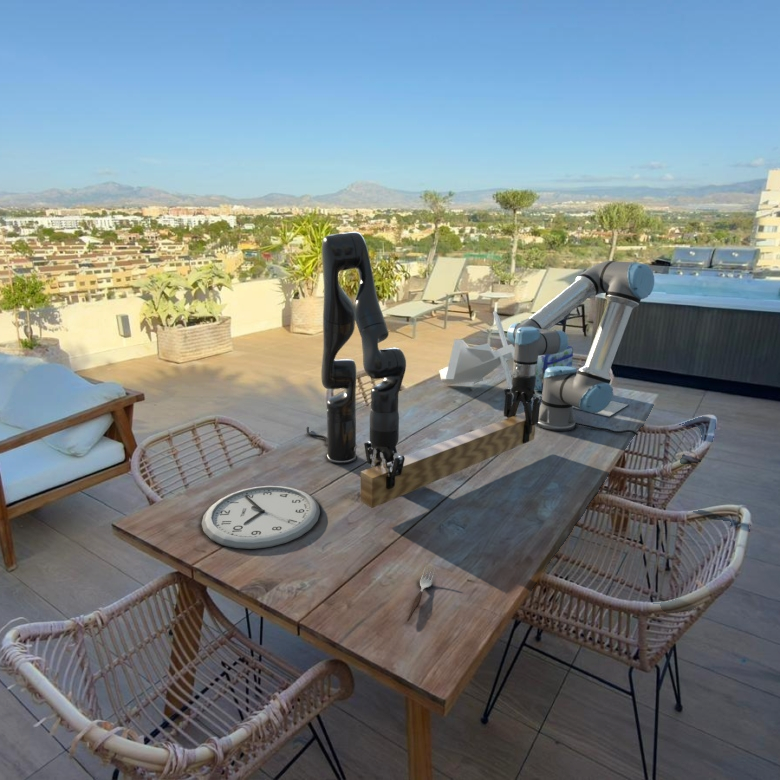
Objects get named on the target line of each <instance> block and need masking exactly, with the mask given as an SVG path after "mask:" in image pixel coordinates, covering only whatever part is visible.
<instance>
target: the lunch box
mask: <svg viewBox="0 0 780 780" xmlns="http://www.w3.org/2000/svg"><path fill="white" fill-rule="evenodd" d="M573 358H574V349H573V346H571V345H568V347H567V349H566V350H565V351H563V352H560V353H557V354H547V355H540V356H538V361H537V372H536V375H535V376H536V382H535V387H534V391H539V392H542V391H543V378H544V375H545V370H546V369H547V368H549V367H555V366H568V367H573Z"/></svg>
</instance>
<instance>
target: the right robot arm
mask: <svg viewBox="0 0 780 780" xmlns="http://www.w3.org/2000/svg"><path fill="white" fill-rule="evenodd" d="M654 287H655V275H654V271H653V269H652V268H651V267H650V266H649V265H648V264H646V263H641V262H637V261H633V262H632V261H618V260H617V261H616V260H606V261H602V262H599V263H596V264H595V265H593V266H590V267H589V268H588V269H586V270H585V271H583V272H582V273H581V274H579V275H578V276H576V277H575V279H574V280H573V283H572V284H571V285H569V286H568V287H567V288H565V289H564V290H563V291H562V292H561V293H559V294H558V295H557V296H555V297H554V298H553V299H551V300H550V301H549V302H548V303H547V304H545V305H544V306H543V307H542V308H540V309H539V310H537V311H536V312H534V313H533V314H532V315H531V316H530V317H529V318H528V319H526V320H524V321H523V322H522V323H521V322H515V323H512V324H511V325H510V326H509V327H508V329H507V333H506V338H507V340H508V341H509V342H510V343H511V344H512V345H513V344H514V348H515V350H514V360H513V367H512V373H513V374H512V376H511V378H512V385H513V386H512V388H509V387H508V388H505V389H504V390H503V391H504V405H503V406H504V407H503V416H504V417H506V419H507V418H510V417H513V416H515V415H517V412H518V409H519V407H520V406H519V405H520V403H522V406H523V410H524V411H523V412H525V418H526V424H525V425H524V431H523V443H524V445H525V444H527V443H529V442H530V441H529V436H530V434H531V433H532V426H533V425H536V426H537V427H539V428H542V429H544V430H549V431H556V432H567V431H572V430H574V429H575V428H576V426H581V427H585V428H588V429H593V430H599V431H607V432H609V433H614V434H624V433H631V434H634V435H635V436H639V433H637V432H636V431H634V430H632V429H625V430H613V429H610V428H607V427H598V426H593V425H589V424H585V423H580V422H576V418H575V417H576V416H575V413H574V407H577V408H579V409H578V410H580V409H581V411H583V412H587V413H590V414H596V413H598V412H600V411H602V410H603V409H605V408H606V407H607V406H608V405H609V403H610V402H611V401H613V400H612V399H613V396H614V389H613V386H612V385H611V381H612V378H611V376H610V371H611V368H612V365H613V362H614V360H615V357H616V355H617V351H618V349H619V346H620V344H621V341H622V339H623V336H624V333H625V330H626V327H627V325H628V322H629V319H630V316H631V314H632V311H633V309H635V308H637V307H639V305H640V303H641V300H644V299H646V298H648V297H649V296H650V295H651V294H652V293H653V291H654ZM601 294H605V295H604V298H605V300H606V305H605V307H604V311H603V313H602V316H601V318H600V321H599V323H598V324H599V325H598V327H597V330H596V333H595V336H594V338H593V341H592V343H591V345H590V349H589V352H588V354H587V357H586V360H585V363H584V365H583V366H582V367H580V368H578V369H577V367H574V366H572V367H568V366H555V367H549V368H547V369H546V370H545V375H544V378H543V391H541V395H537V393H536V390H534V387H535V382H536V376H535V375H536V372H537V361H538V356H540V355H547V354H557V353H560V352H563V351H565V350H566V349H567V347H568V346H569V337H568V335H567V333H566V332H565V331H563V330H561V329H559V330H556V329H554V330H550V329H551V328H552V327H554V326H555V325H556V324H558V323H559V322H560V321H561V320H563V319H564V318H565V317H566V316H568V315H569V314H571V312H573V311H574V310H575V309H576V308H578V307H579V306H580V305H581V304H583V303H584V302H585V301H586V300H591V299H593V298H595V297H596V296H598V295H601ZM512 393H513V395H514V396H513V395H512Z"/></svg>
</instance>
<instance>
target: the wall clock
mask: <svg viewBox="0 0 780 780" xmlns="http://www.w3.org/2000/svg"><path fill="white" fill-rule="evenodd" d="M320 514H321V510H320V504H319V503H318V502H317V500H316V499H315V498H314V497H313V496H311V495H310V494H308V493H306V492H305V491H303V490H300V489H296V488H294V487H289V486H283V485H282V486H281V485H263V486H254V487H249V488H243V489H240V490H238V491H234V492H232V493H229V494H228V495H226V496H223V497H222V498H220V499H219V500H217V501H216V502H214V503H213V504H212V505H210V506H209V508H208V509H207V510H206V511H205V513H204V514H203V516H202V520H201V527H202V530H203V533H204V534H205V536H207V537H208V538H209V539H210V540H211V541H212V542H215V543H217V544H219V545H221V546H225V547H229V548H235V549H249V550H250V549H251V550H252V549H253V550H254V549H264V548H272V547H275V546H279V545H284V544H286V543H289V542H291V541H293V540H296V539H298V538H300V537H302V536H303V535H304V534H306V533H307V532H310V531H311V530H312V529H313V527H314V526H315V525H316V524H317V523H318V520H319V518H320Z"/></svg>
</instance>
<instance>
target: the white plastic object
mask: <svg viewBox="0 0 780 780" xmlns="http://www.w3.org/2000/svg"><path fill="white" fill-rule="evenodd" d="M492 315H493V319H494V321H495V324H496V325H495V326H496V328H497V332H498V335H499V338H500V342H501V345H502V347H500V348H498V349H496V350H495V349H493V348H492V347H491V346H490V344H489V343H488V342H487V343H483V344H479V345H473V346H469V345H468V343H466V342H465V340H464V339H463V338H460V339H458V338H454V340H453V344H452V349H451V353H450V357H449V362H448V366H446V367H444V368H442V369H440V370H439V371H438V372H439V376H440V381H442V383H443V384H444V385H445V386H449V385H458V384H467V383H468V384H469V383H473V384H477V383H480V382H482V381H484V378H485V377H486V376H487V375H489V374H490V373H492V372H494V371H495V370H496V369H497V368H499V367H500V366H502V370H503V373H504V376H505V380H506V383H507V386H508V388H512V386H513V385H512V375H511V371H510V369H509V365H508V361H510V360H513V361H514V350H515V345H513V343H511V344H508V341H507V340H508V339H507V336H506V334H505V331H504V328H503V325H502V321H501V318H500V315H499V314H498V312H497V311H496V310H495V311H492ZM512 397H514V395H513V393H512Z"/></svg>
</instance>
